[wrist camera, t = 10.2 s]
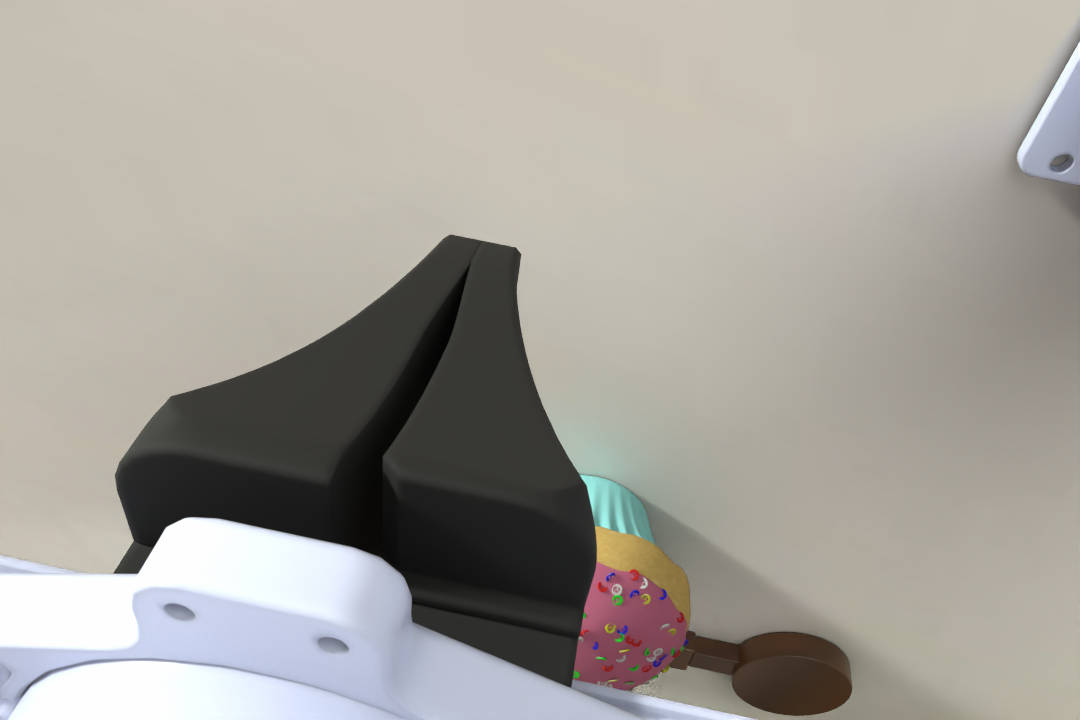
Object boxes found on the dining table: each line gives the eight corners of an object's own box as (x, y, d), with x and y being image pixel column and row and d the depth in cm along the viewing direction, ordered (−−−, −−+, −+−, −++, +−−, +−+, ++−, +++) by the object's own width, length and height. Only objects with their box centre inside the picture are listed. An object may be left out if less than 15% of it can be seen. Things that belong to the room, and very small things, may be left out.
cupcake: (631, 597, 38) (601, 901, 29) (454, 527, 37) (366, 823, 28) (735, 491, 32) (739, 829, 23) (530, 404, 31) (452, 727, 22)
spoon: (867, 646, 37) (871, 672, 37) (825, 701, 41) (828, 725, 40) (375, 541, 38) (366, 564, 37) (375, 604, 42) (368, 625, 41)
